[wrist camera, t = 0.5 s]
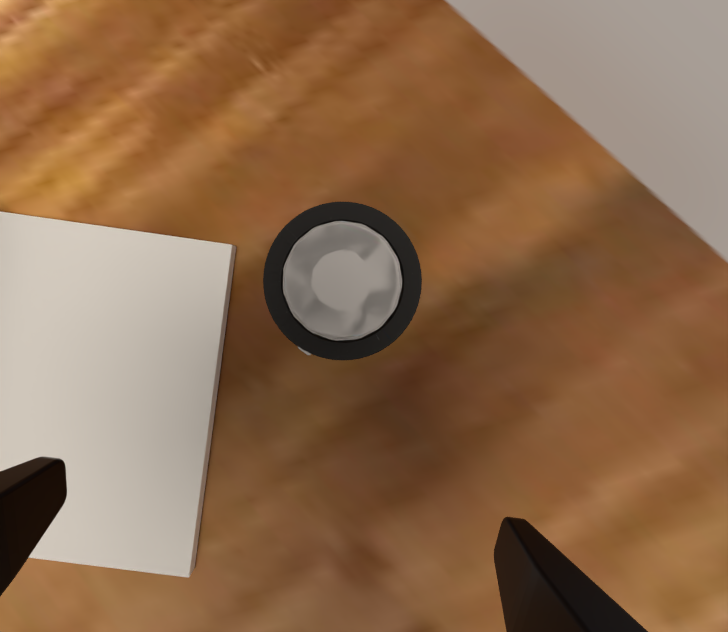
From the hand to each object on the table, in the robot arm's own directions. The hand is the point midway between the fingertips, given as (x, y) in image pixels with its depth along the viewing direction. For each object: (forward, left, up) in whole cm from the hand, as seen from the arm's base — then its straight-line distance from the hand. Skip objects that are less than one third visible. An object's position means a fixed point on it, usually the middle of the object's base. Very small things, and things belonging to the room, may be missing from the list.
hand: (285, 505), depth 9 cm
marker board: (-3, +13, -15) cm, 20 cm away
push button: (+4, 0, -15) cm, 16 cm away
